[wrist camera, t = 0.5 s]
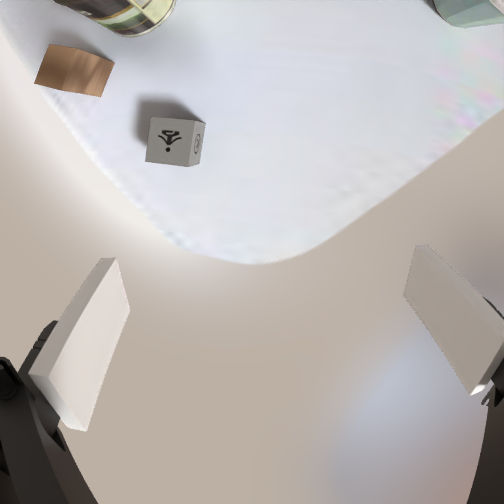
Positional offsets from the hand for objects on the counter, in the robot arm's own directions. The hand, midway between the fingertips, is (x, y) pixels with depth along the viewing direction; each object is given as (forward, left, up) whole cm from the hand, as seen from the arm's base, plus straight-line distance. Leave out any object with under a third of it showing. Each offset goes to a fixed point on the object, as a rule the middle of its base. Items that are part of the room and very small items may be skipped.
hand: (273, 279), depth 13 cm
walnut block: (-10, -27, -25) cm, 38 cm away
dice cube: (-3, -12, -25) cm, 28 cm away
